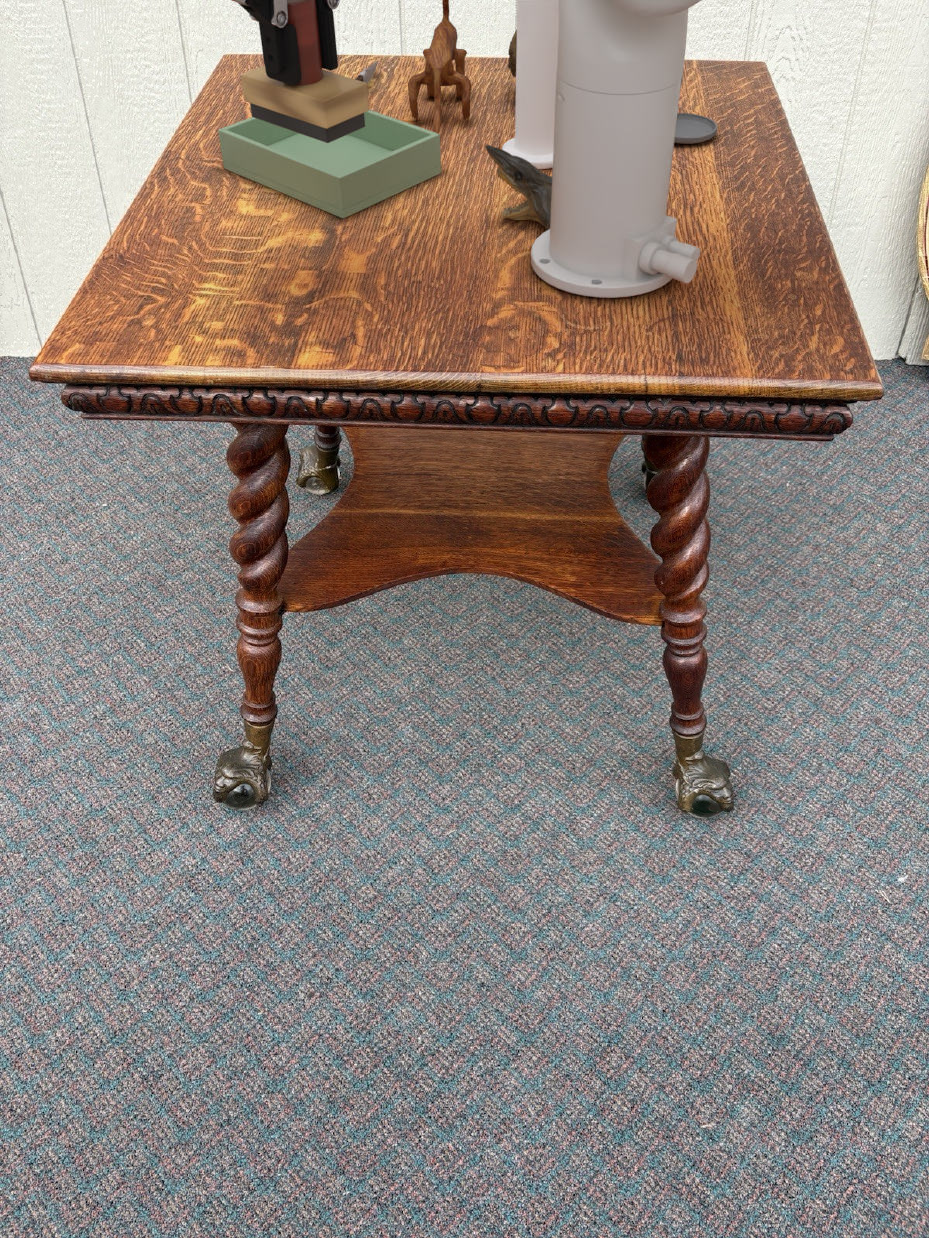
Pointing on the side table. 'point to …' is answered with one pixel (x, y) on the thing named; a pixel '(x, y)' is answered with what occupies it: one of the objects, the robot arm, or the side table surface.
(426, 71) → the wooden animal figurine
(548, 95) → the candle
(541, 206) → the shark head
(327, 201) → the tray
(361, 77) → the pocket knife
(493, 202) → the side table surface
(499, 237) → the side table surface
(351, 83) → the stamp
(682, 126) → the dark grey round piece
